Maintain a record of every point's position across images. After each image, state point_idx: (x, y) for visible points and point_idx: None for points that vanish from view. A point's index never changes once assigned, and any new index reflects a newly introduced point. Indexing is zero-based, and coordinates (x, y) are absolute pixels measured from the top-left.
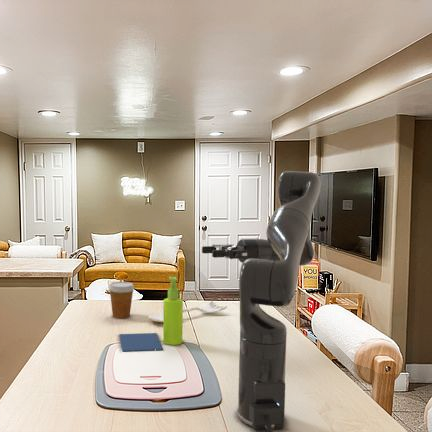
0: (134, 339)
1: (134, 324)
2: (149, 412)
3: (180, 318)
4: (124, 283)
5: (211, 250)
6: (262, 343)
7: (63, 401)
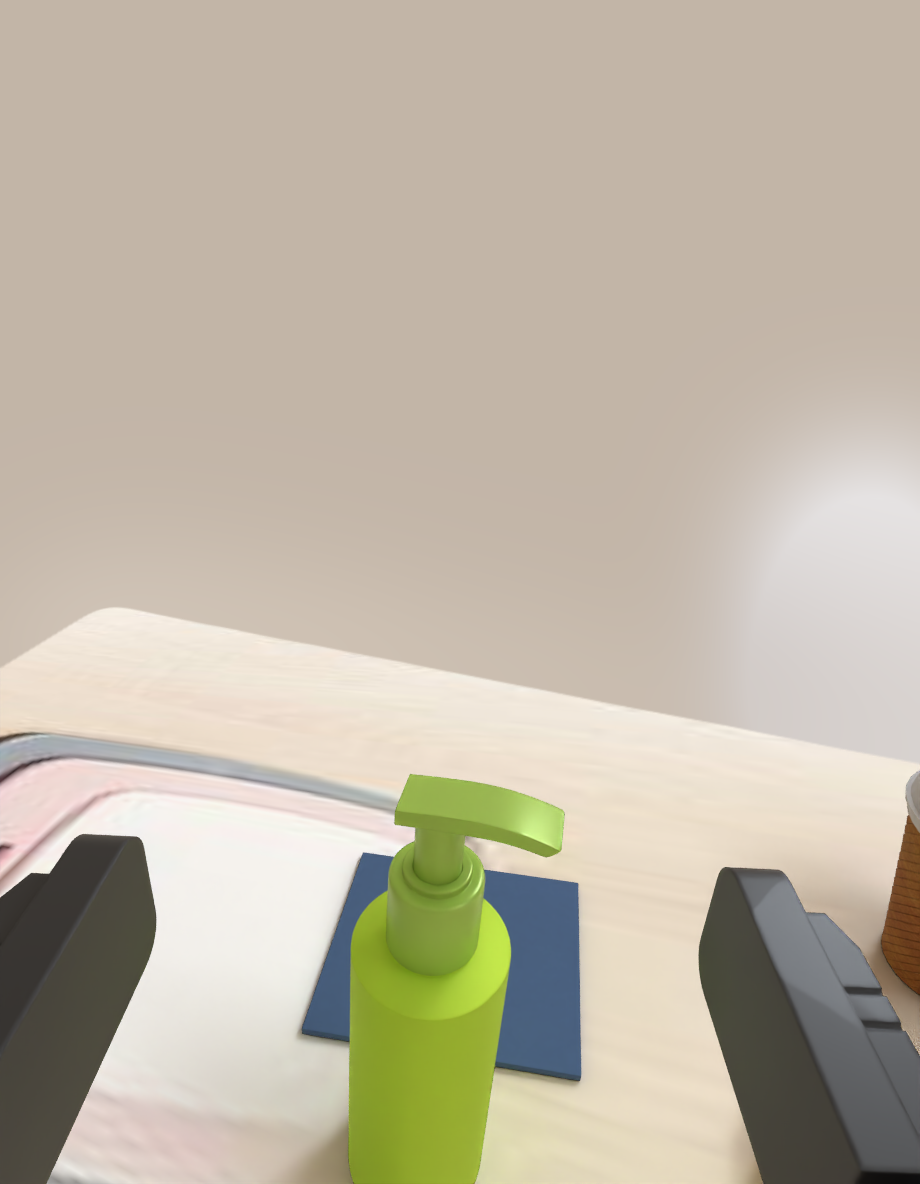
0: None
1: None
2: None
3: (356, 1071)
4: None
5: (798, 1169)
6: None
7: (102, 685)
